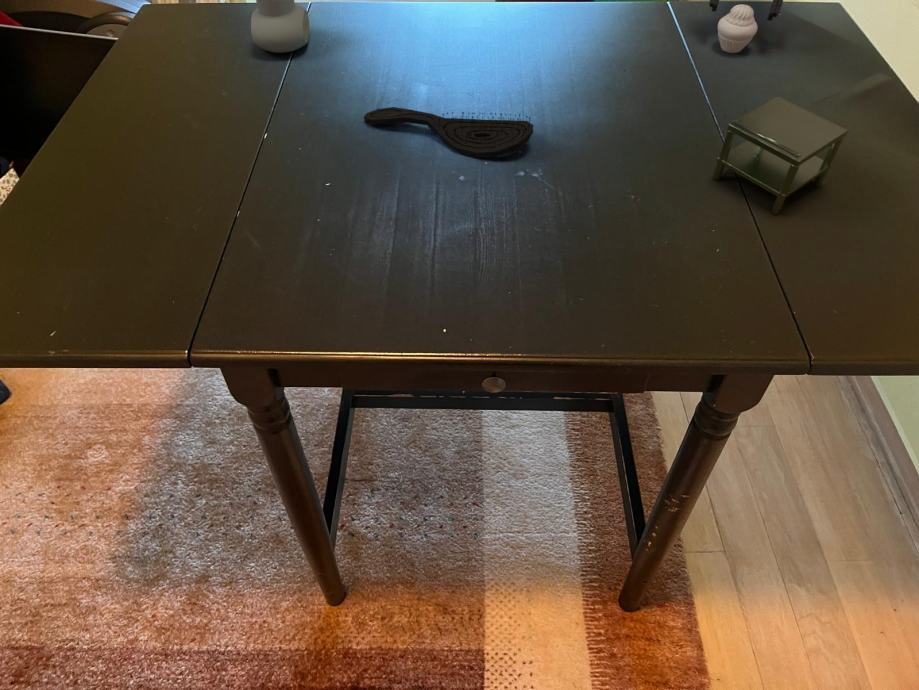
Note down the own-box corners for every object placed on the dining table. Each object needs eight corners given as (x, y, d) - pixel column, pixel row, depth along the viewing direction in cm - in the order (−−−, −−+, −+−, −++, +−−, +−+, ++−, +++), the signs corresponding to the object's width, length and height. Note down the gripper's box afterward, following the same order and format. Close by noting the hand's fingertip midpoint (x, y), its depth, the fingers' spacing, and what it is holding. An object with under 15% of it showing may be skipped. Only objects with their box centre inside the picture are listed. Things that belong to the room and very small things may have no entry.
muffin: (758, 51, 111) (773, 7, 106) (732, 61, 109) (745, 17, 104) (730, 35, 115) (742, -8, 109) (703, 45, 113) (715, 2, 107)
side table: (758, 149, 94) (779, 91, 87) (822, 184, 89) (851, 125, 82) (711, 177, 90) (730, 119, 83) (775, 216, 85) (801, 156, 78)
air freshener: (264, 30, 118) (250, -32, 110) (312, 28, 118) (301, -33, 111) (255, 62, 111) (238, -2, 104) (306, 60, 111) (293, -3, 104)
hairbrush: (373, 87, 100) (540, 107, 94) (377, 110, 103) (539, 131, 97) (350, 117, 95) (524, 141, 89) (355, 141, 98) (524, 165, 92)
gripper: (729, -113, 104) (697, -4, 106) (829, -102, 100) (794, 11, 102) (724, -86, 111) (694, 16, 113) (817, -75, 107) (784, 30, 109)
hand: (741, 14), depth 108 cm, fingers open, 8 cm apart
